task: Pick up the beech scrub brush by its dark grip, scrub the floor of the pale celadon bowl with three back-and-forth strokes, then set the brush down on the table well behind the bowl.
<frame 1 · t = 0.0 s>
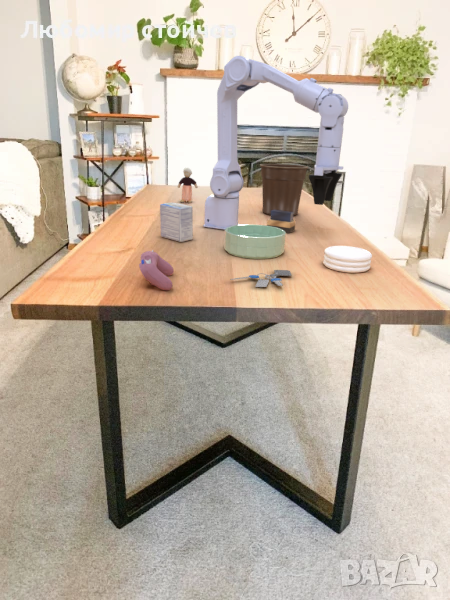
hand: (322, 202, 114), 10 cm above the table, tool pointing down, fingers open, 7 cm apart
bowl: (254, 251, 106), on the table
coaster: (346, 267, 97), on the table
medicine box: (176, 239, 115), on the table
brush: (280, 230, 129), on the table
plant pot: (280, 213, 154), on the table
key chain: (271, 282, 85), on the table
grandmother figurine: (187, 202, 170), on the table
pink curved piece: (157, 283, 82), on the table
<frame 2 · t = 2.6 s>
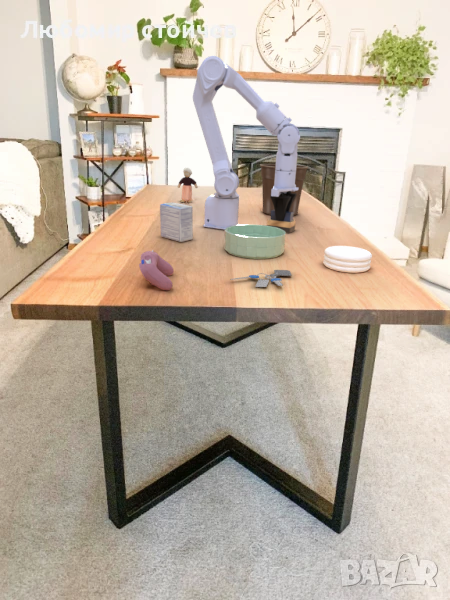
hand: (281, 219, 127), 3 cm above the table, tool pointing down, fingers closed on brush, 2 cm apart
brush: (280, 230, 129), on the table, touching gripper
everything else where it was.
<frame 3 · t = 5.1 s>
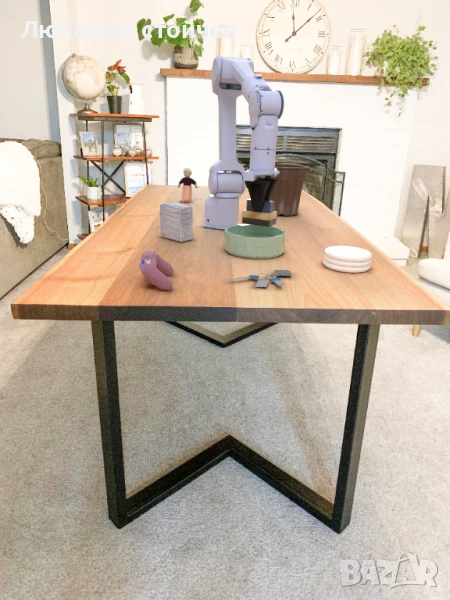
hand: (259, 210, 104), 9 cm above the table, tool pointing down, fingers closed on brush, 2 cm apart
brush: (259, 223, 105), point 6 cm above the table, touching gripper
everything else where it was.
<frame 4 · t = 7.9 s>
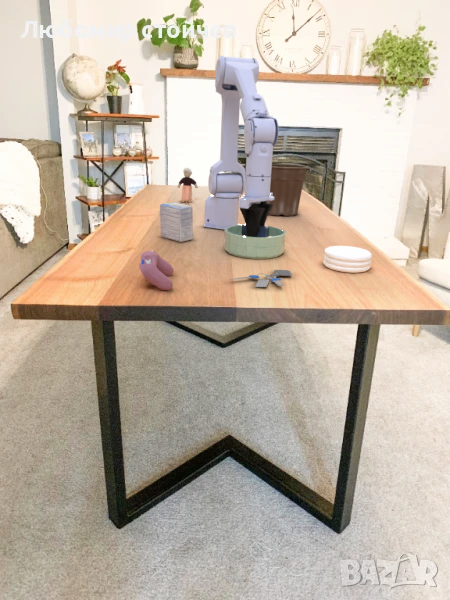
hand: (254, 235, 104), 4 cm above the table, tool pointing down, fingers closed on brush, 2 cm apart
brush: (254, 248, 105), point 1 cm above the table, touching gripper
everything else where it was.
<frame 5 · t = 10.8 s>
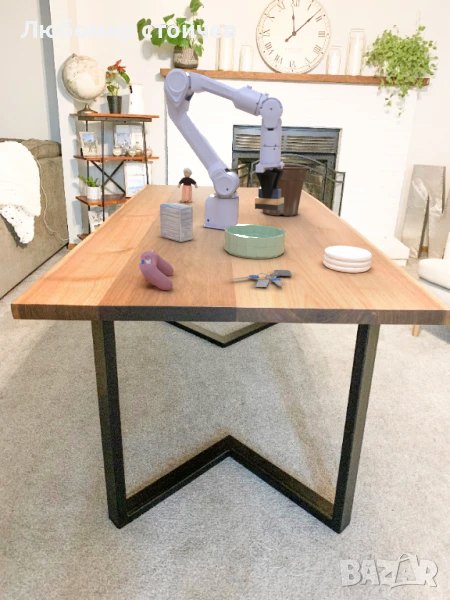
hand: (268, 197, 125), 9 cm above the table, tool pointing down, fingers closed on brush, 2 cm apart
brush: (269, 208, 126), point 6 cm above the table, touching gripper
everything else where it was.
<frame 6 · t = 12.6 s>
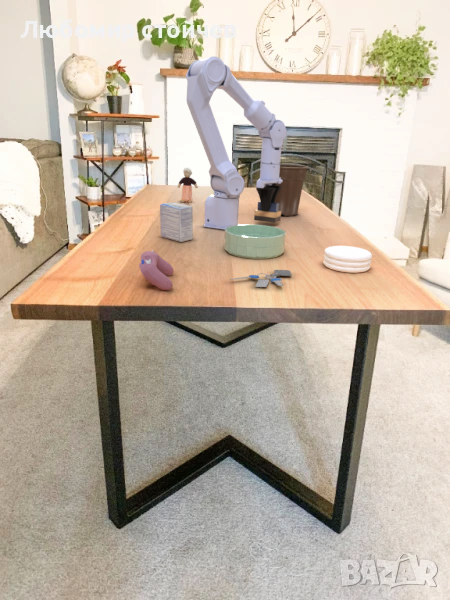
hand: (267, 210, 135), 4 cm above the table, tool pointing down, fingers closed on brush, 2 cm apart
brush: (267, 220, 136), point 1 cm above the table, touching gripper
everything else where it was.
when the fingers open (3 cm above the table, at t = 13.2 s): brush stays where it is, on the table.
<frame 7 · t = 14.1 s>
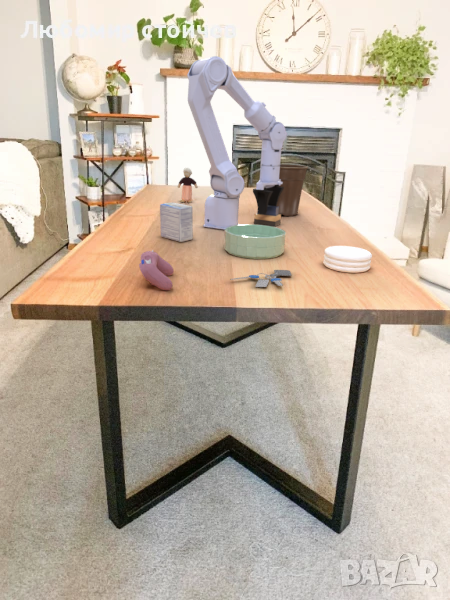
hand: (267, 211, 135), 4 cm above the table, tool pointing down, fingers open, 7 cm apart
brush: (267, 223, 136), on the table
everything else where it was.
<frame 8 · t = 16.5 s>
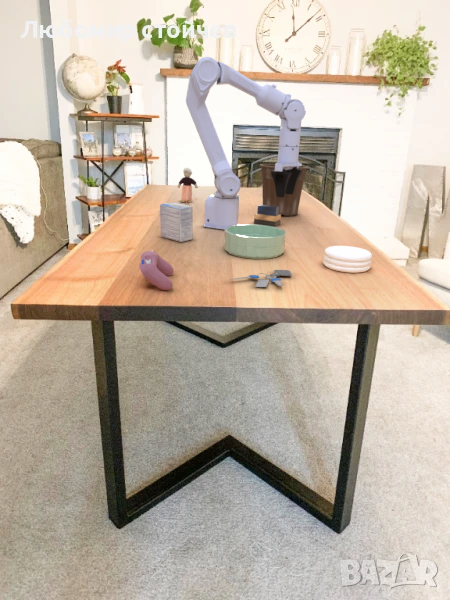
hand: (284, 195, 129), 9 cm above the table, tool pointing down, fingers open, 7 cm apart
nothing on the table moved.
at the end: brush tilted 0°; brush moved 9.1 cm from its start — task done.
